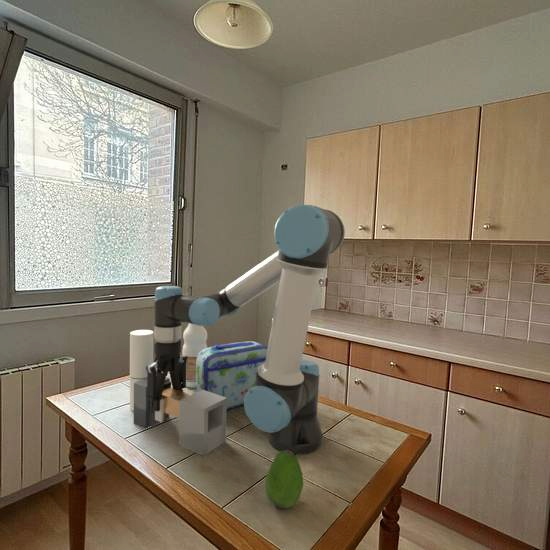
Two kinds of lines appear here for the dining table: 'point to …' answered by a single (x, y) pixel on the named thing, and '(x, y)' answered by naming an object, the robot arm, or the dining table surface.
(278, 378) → the robot arm
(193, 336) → the fruit juice
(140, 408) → the socket
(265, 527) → the dining table surface
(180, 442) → the sleeve
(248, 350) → the lunch box
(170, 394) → the square peg
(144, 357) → the cylindrical container
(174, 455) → the dining table surface
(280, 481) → the avocado
